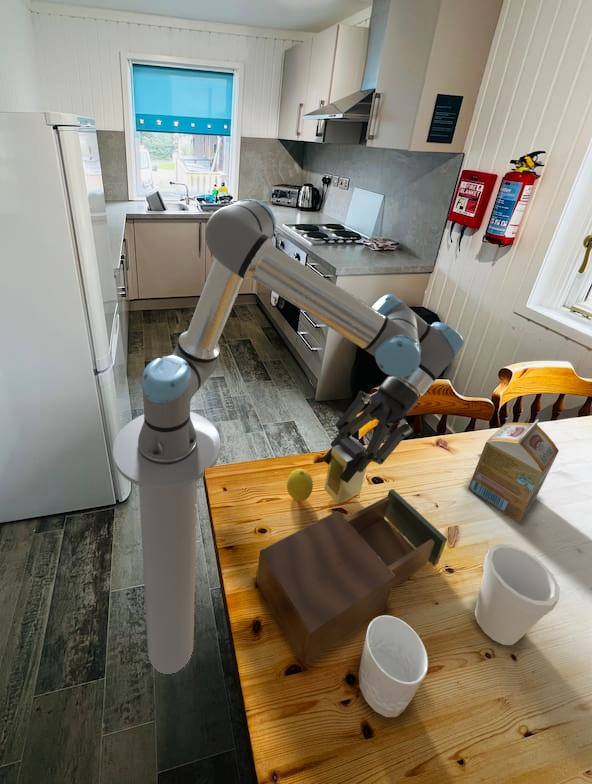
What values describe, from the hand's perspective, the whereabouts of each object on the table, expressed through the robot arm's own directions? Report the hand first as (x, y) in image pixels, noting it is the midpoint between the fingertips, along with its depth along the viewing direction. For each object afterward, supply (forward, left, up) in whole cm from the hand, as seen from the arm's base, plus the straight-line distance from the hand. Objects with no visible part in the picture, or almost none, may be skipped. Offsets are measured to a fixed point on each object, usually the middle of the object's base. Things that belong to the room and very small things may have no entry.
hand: (334, 470), depth 83 cm
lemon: (-4, -5, -10) cm, 12 cm away
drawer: (+14, +2, -9) cm, 16 cm away
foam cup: (+31, +10, -10) cm, 34 cm away
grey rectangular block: (0, +4, -8) cm, 9 cm away
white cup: (+28, -14, -10) cm, 33 cm away
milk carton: (+16, +39, -10) cm, 43 cm away
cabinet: (+14, -14, -9) cm, 22 cm away
